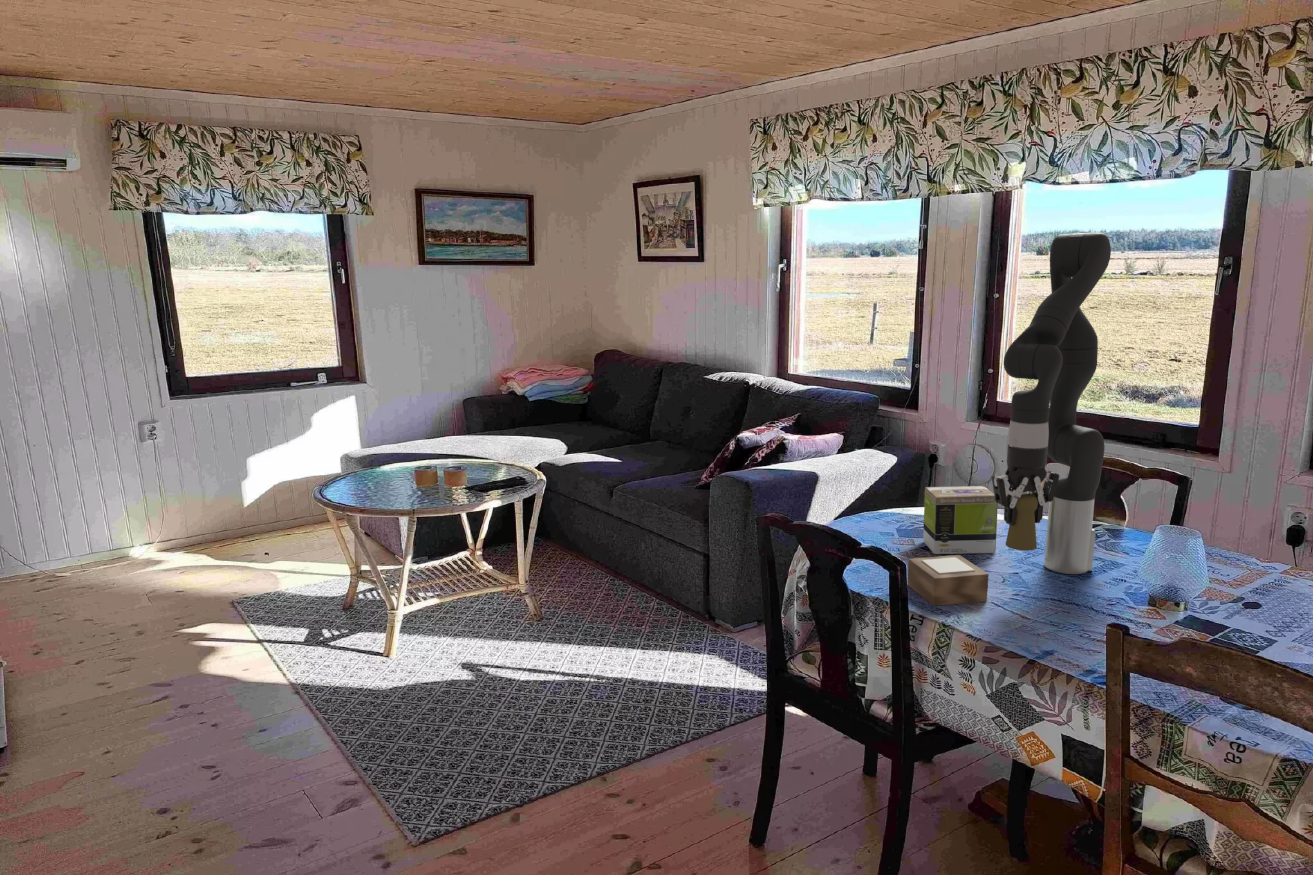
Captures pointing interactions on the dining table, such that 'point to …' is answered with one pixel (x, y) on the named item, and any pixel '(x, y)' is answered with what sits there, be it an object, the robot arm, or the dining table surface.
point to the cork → (1023, 524)
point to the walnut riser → (947, 580)
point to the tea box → (960, 520)
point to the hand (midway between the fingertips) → (1022, 522)
